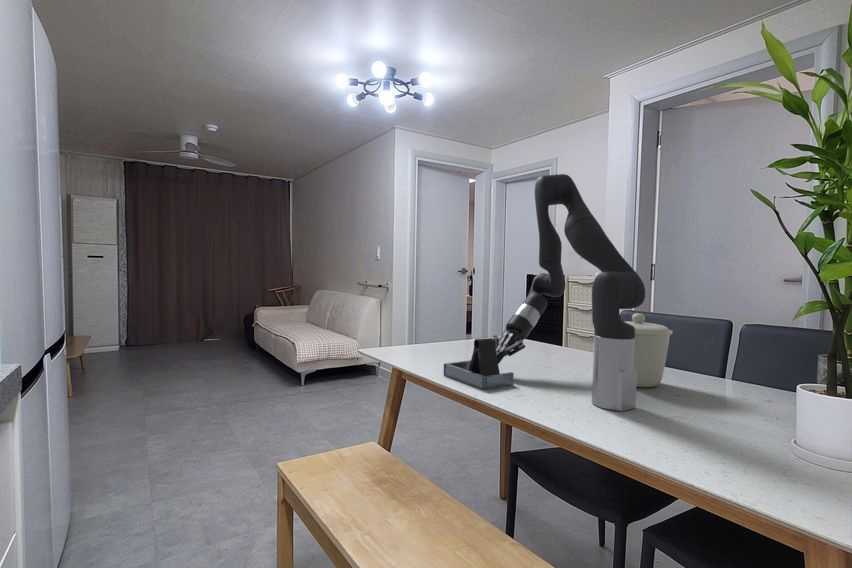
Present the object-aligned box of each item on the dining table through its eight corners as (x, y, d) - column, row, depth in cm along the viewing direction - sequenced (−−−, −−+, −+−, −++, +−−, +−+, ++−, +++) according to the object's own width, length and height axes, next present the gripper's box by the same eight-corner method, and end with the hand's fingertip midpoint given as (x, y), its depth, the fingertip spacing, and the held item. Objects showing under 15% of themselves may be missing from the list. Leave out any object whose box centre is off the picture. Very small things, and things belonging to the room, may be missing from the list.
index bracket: (513, 384, 124) (513, 372, 124) (484, 390, 118) (484, 377, 118) (471, 370, 140) (471, 360, 140) (443, 374, 134) (443, 363, 134)
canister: (592, 381, 130) (595, 312, 129) (618, 372, 142) (621, 309, 141) (656, 395, 117) (659, 318, 116) (679, 384, 129) (682, 314, 128)
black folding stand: (500, 380, 128) (502, 340, 128) (483, 382, 125) (485, 341, 125) (483, 373, 136) (484, 336, 136) (467, 375, 133) (468, 337, 133)
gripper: (502, 311, 143) (473, 351, 136) (533, 315, 132) (502, 359, 125) (514, 326, 146) (485, 366, 140) (544, 331, 135) (514, 375, 129)
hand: (493, 363), depth 132 cm, fingers closed
